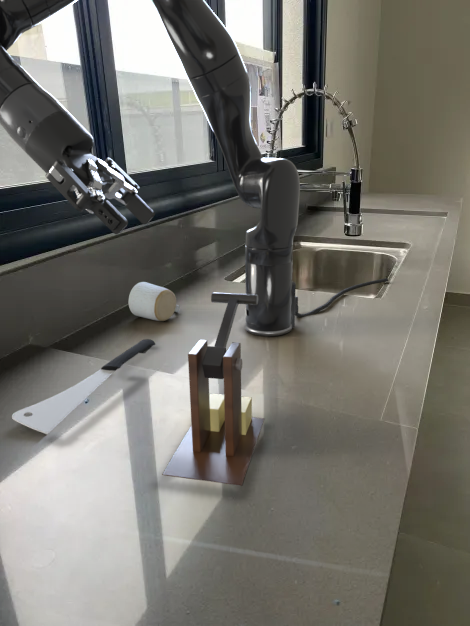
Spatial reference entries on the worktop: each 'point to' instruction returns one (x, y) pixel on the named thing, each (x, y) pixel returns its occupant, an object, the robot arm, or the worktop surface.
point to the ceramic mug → (152, 302)
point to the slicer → (209, 446)
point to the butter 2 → (246, 413)
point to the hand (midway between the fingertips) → (137, 224)
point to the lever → (223, 332)
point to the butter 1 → (216, 411)
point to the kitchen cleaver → (73, 394)
